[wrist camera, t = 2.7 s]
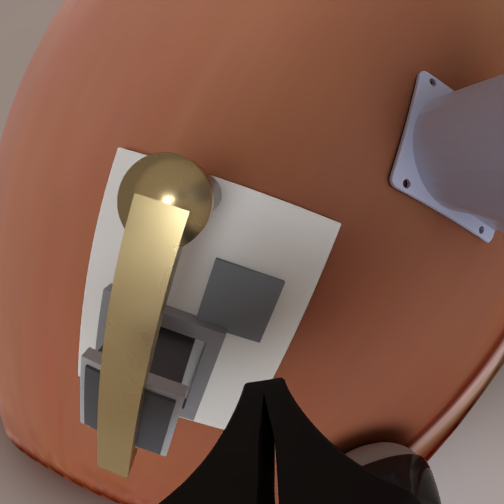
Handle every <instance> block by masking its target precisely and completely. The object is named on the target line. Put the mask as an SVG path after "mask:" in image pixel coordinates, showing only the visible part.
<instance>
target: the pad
mask: <svg viewBox="0 0 504 504" xmlns="http://www.w3.org/2000/svg"><path fill="white" fill-rule="evenodd" d="M284 284H285V281H284V280H282V279H279V278H276V277H273V276H270V275H267V274H264V273H261V272H258V271H255V270H252V269H249V268H247V267H244V266H241V265H238V264H235V263H232V262H229V261H226V260H223V259H220V258H217V257H216V259H215V262H214V265H213V268H212V271H211V274H210V277H209V280H208V283H207V286H206V289H205V292H204V295H203V298H202V301H201V304H200V307H199V310H198V314H197V317H196V319H197V320H200V321H203V322H206V323H209V324H212V325H215V326H218V327H221V328H224V329H227V332H226V333H229V334H232V335H235V336H239V337H242V338H245V339H248V340H252V341H255V342H259V343H260V341H261V339H262V336H263V334H264V332H265V330H266V327H267V325H268V323H269V320H270V318H271V315H272V313H273V311H274V308H275V306H276V304H277V301H278V299H279V296H280V294H281V291H282V289H283V287H284Z"/></svg>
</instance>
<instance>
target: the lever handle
mask: <svg viewBox="0 0 504 504" xmlns="http://www.w3.org/2000/svg"><path fill="white" fill-rule="evenodd" d="M213 206H214V193H213V188H212V184H211V182H210V179H209V178H208V176H207V174H206V173H205V171H204V170H203V169H202V168H201V167H200V166H199V165H198V164H196V163H195V162H194V161H192V160H190V159H188V158H186V157H183V156H181V155H178V154H175V153H169V152H160V153H154V154H150V155H148V156H145V157H143V158H141V159H140V160H138V161H137V162H136V163H134V164H133V165H132V166H131V167H130V168H129V170H128V171H127V172H126V174H125V175H124V177H123V179H122V181H121V183H120V186H119V190H118V195H117V209H118V214H119V218H120V221H121V223H122V225H123V227H124V229H125V230H124V234H123V238H122V243H121V247H120V251H119V256H118V260H117V265H116V270H115V275H114V280H113V285H112V290H111V296H110V301H109V307H108V314H107V320H106V327H105V334H104V342H103V350H102V359H101V370H100V381H99V396H98V417H97V465H98V466H99V467H101V468H103V469H105V470H108V471H110V472H113V473H115V474H117V475H120V476H123V477H125V478H128V476H129V473H130V470H131V468H132V465H133V462H134V459H135V456H136V453H137V448H135V443H136V437H137V432H138V426H139V421H140V416H141V411H142V406H143V401H144V396H145V391H146V386H147V382H148V377H149V373H150V368H151V364H152V360H153V355H154V351H155V347H156V343H157V339H158V335H159V331H160V327H161V323H162V319H163V315H164V311H165V308H166V304H167V300H168V297H169V293H170V289H171V286H172V282H173V279H174V275H175V272H176V268H177V265H178V262H179V258H180V255H181V252H182V248H183V246H185V245H186V244H188V243H190V242H191V241H192V240H193V239H194V238H195V237H196V236H197V235H198V234H199V233H200V232H201V231H202V230H203V229H204V228H205V226H206V225H207V223H208V222H209V220H210V217H211V215H212V211H213Z"/></svg>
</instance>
